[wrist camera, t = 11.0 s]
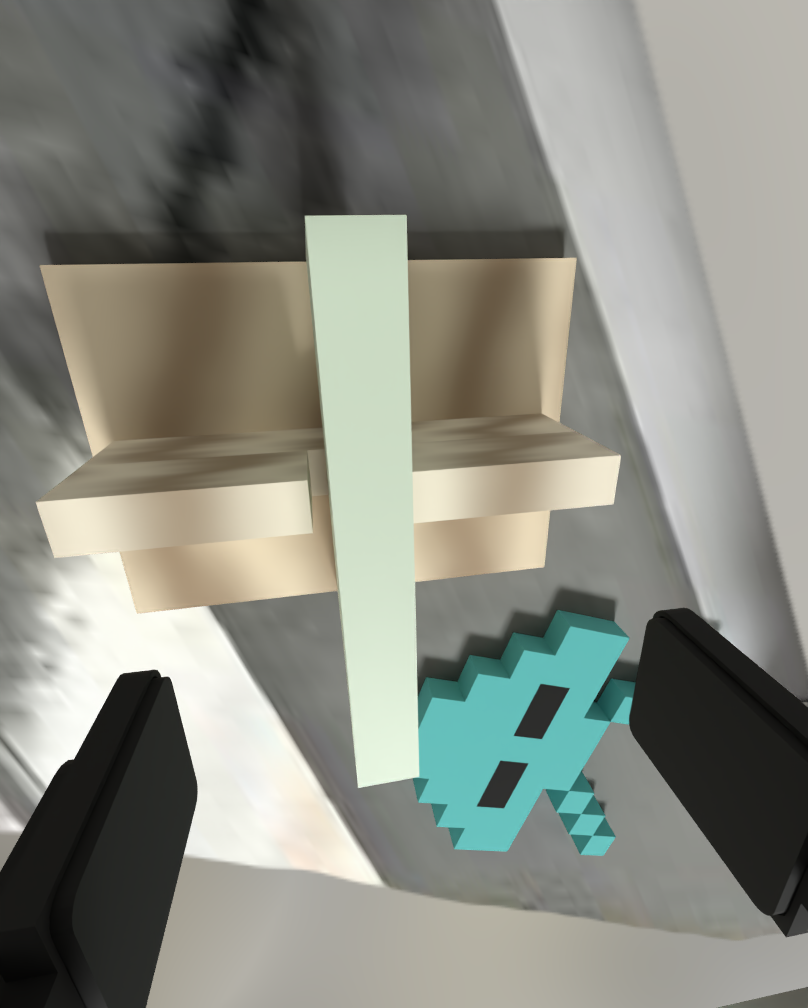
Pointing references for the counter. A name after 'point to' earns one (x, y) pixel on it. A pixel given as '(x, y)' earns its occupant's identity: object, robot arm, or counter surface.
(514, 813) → the alien figure
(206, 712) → the counter surface
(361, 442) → the slotted plate
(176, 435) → the cross stand
